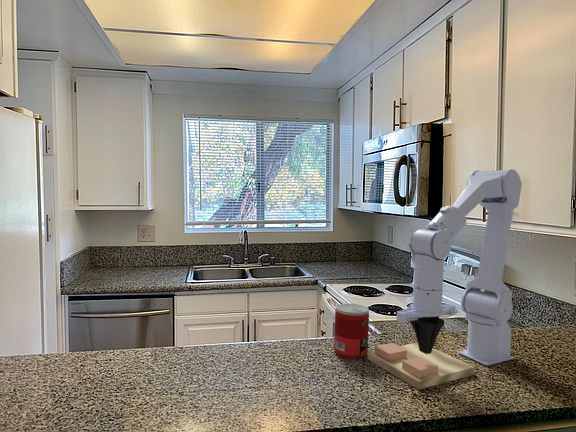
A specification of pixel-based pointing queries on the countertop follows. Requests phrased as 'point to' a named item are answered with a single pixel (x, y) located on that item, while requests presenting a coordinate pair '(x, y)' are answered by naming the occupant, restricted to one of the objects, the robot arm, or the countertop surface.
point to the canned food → (351, 331)
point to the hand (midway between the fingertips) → (425, 352)
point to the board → (446, 364)
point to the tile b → (420, 367)
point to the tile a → (390, 351)
